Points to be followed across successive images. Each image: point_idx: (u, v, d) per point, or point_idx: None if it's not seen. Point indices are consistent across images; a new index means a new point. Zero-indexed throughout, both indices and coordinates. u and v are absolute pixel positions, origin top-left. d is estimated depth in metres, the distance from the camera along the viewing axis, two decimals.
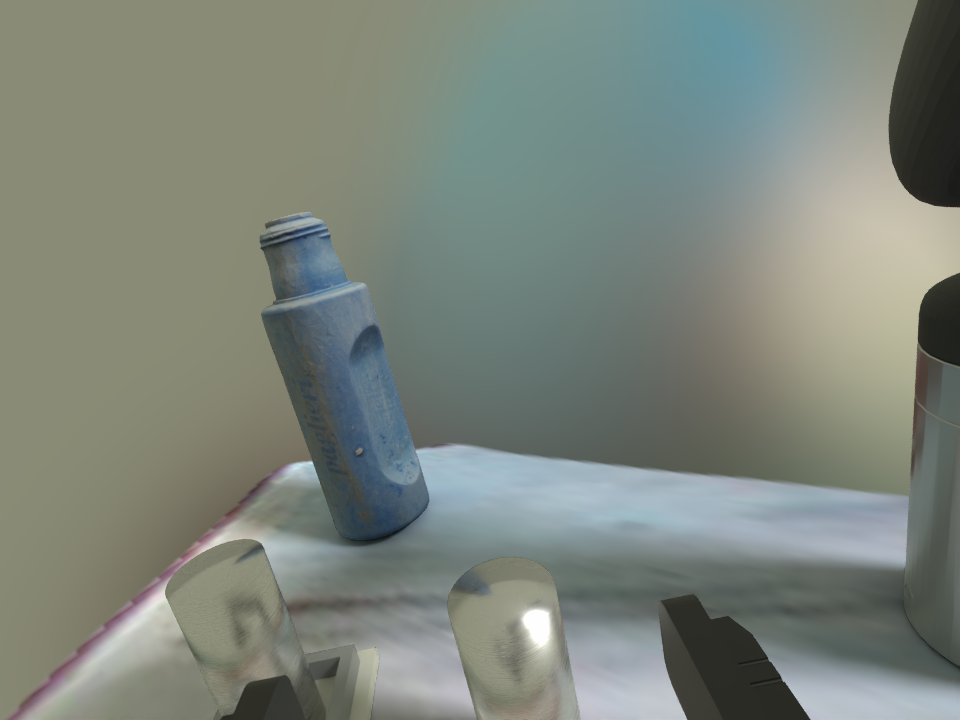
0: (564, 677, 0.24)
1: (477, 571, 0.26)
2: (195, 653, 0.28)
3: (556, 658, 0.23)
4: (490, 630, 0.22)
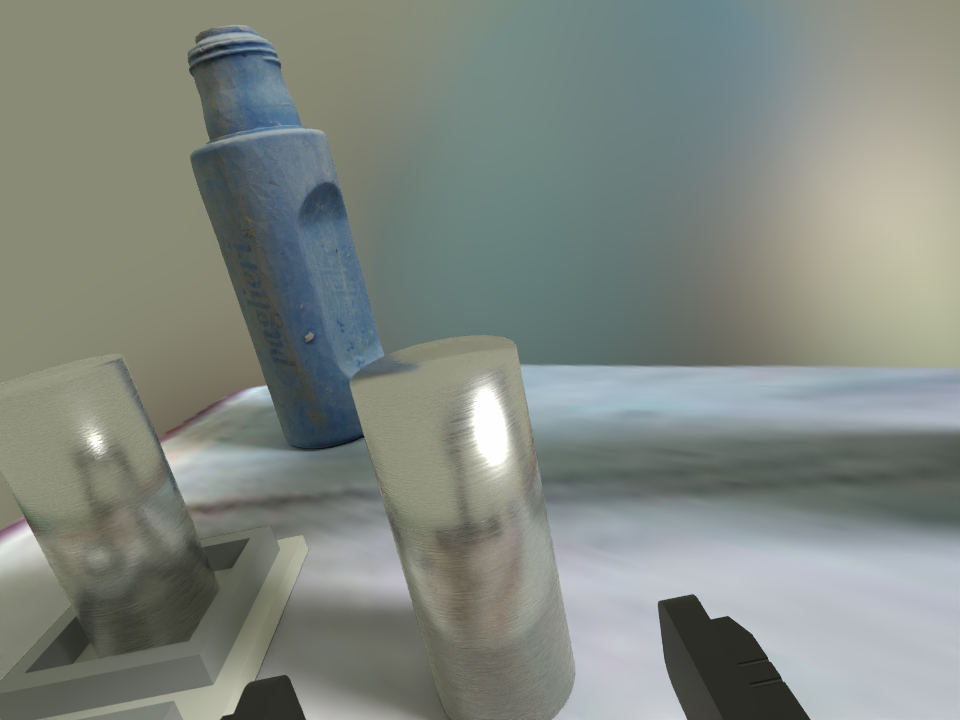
0: (530, 487, 0.16)
1: (406, 351, 0.18)
2: (10, 486, 0.20)
3: (514, 448, 0.15)
4: (406, 388, 0.14)
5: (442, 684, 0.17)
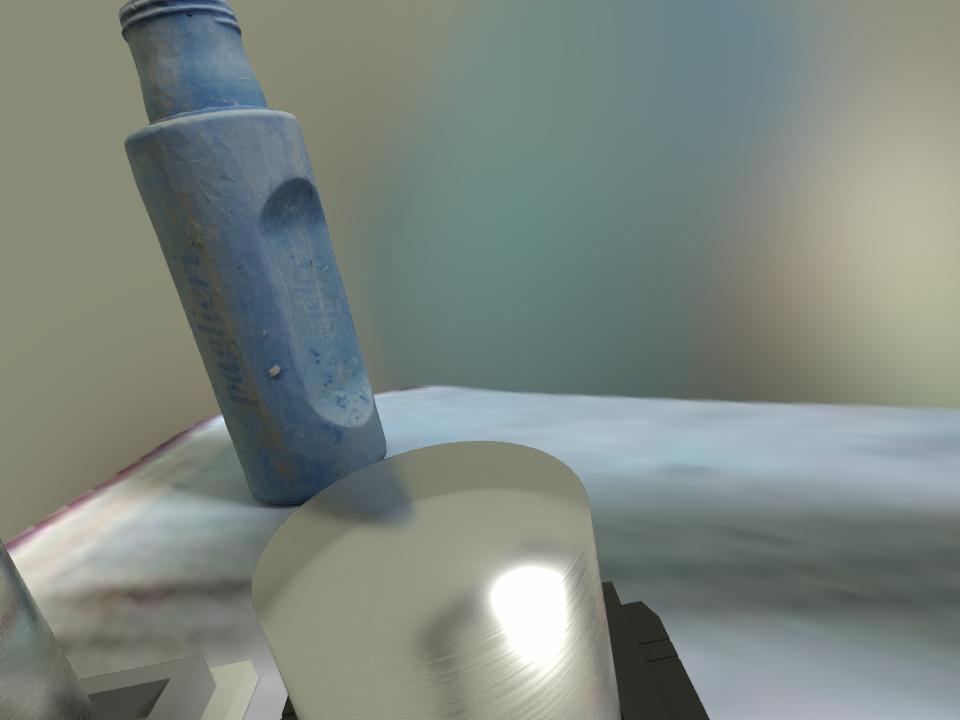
0: None
1: (375, 472, 0.10)
2: None
3: (589, 718, 0.07)
4: (361, 624, 0.06)
5: None
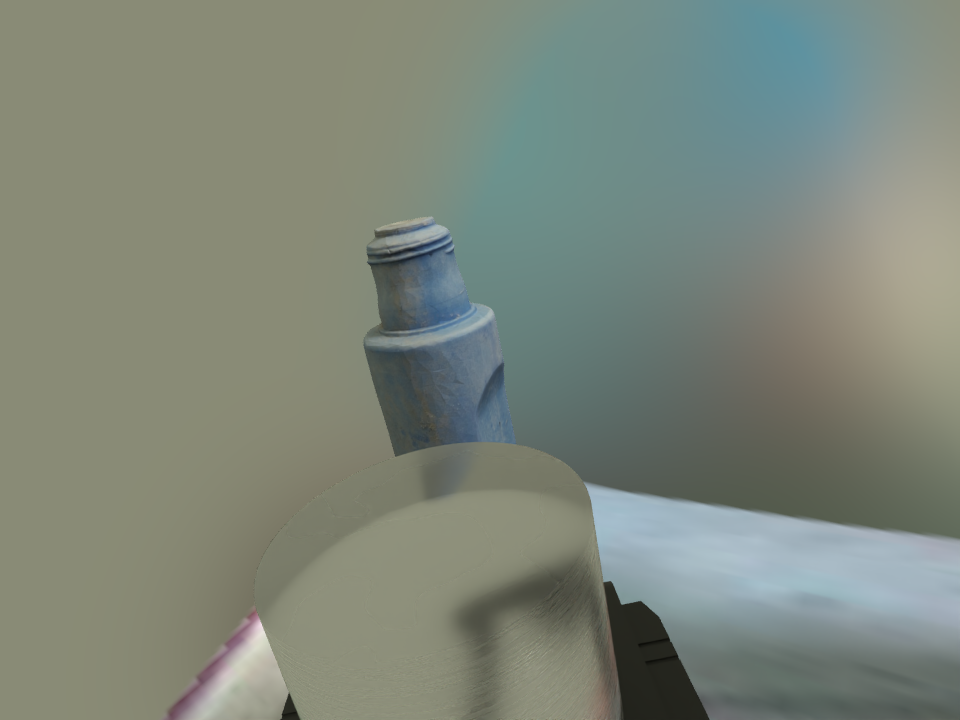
0: None
1: (377, 473, 0.10)
2: None
3: (592, 719, 0.07)
4: (363, 625, 0.06)
5: None
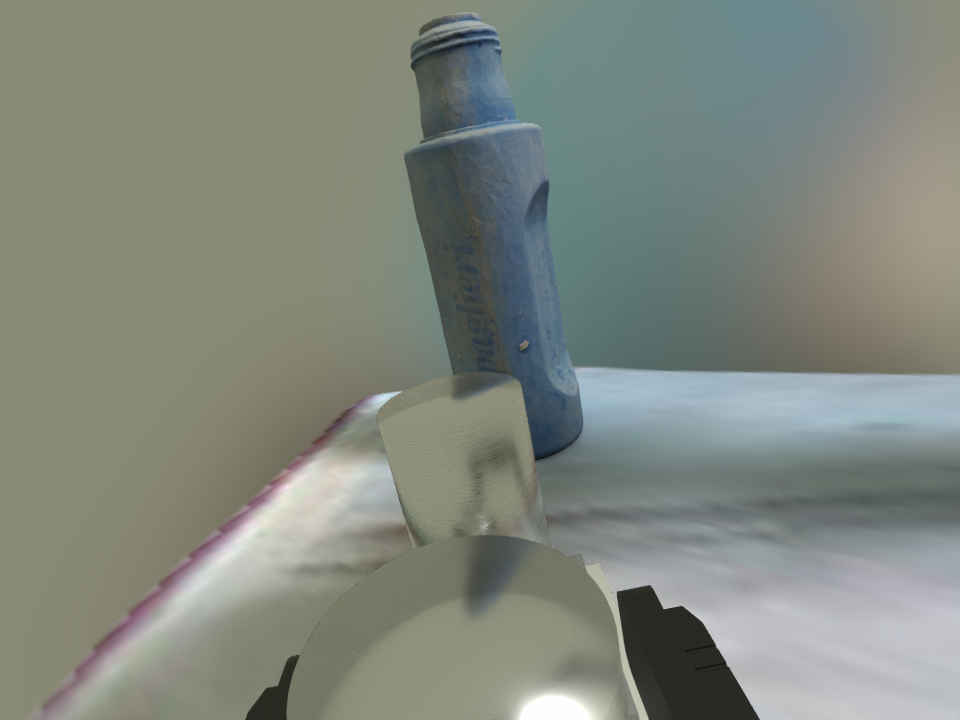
0: None
1: (399, 570, 0.10)
2: (427, 525, 0.17)
3: None
4: None
5: None
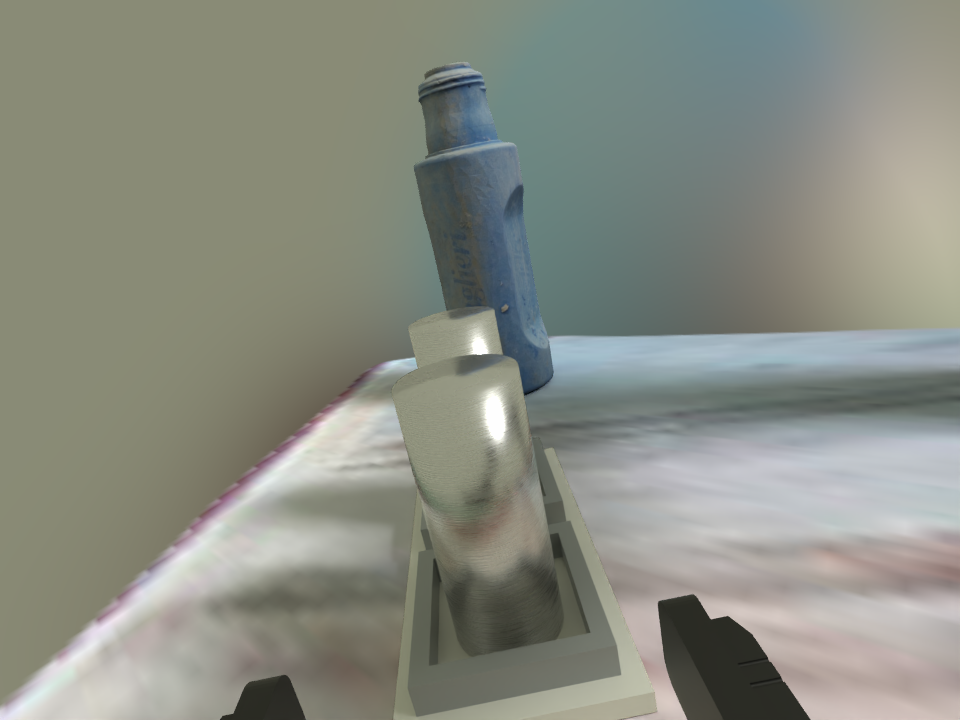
0: (528, 472, 0.21)
1: (431, 366, 0.22)
2: None
3: (517, 442, 0.20)
4: (437, 398, 0.19)
5: (460, 625, 0.23)
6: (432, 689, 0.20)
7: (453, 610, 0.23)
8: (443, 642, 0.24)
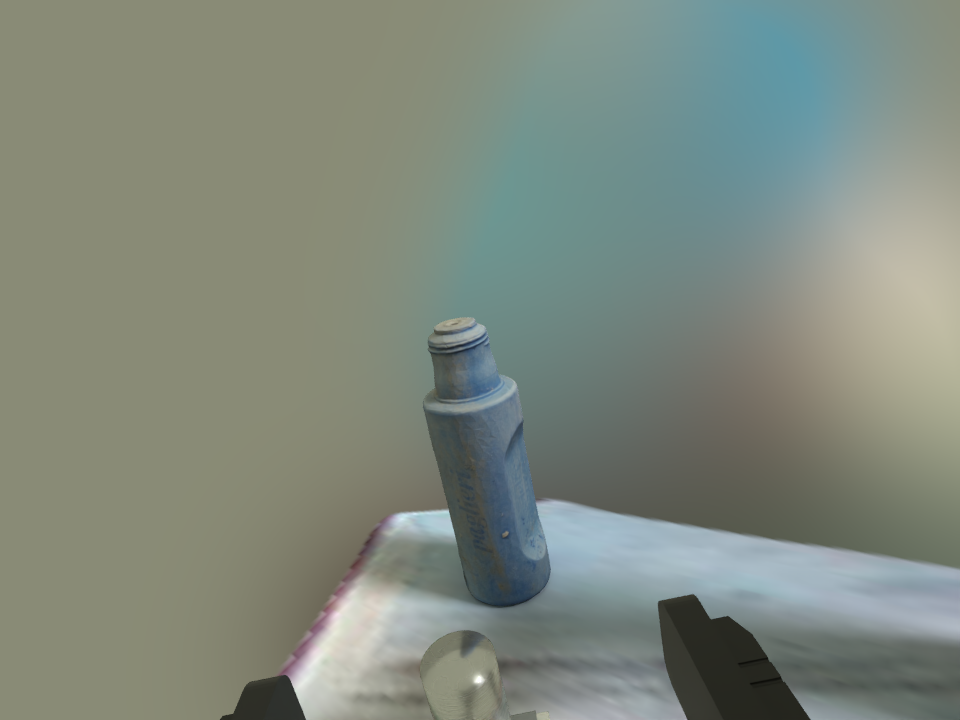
0: None
1: None
2: None
3: None
4: None
5: None
6: None
7: None
8: None
